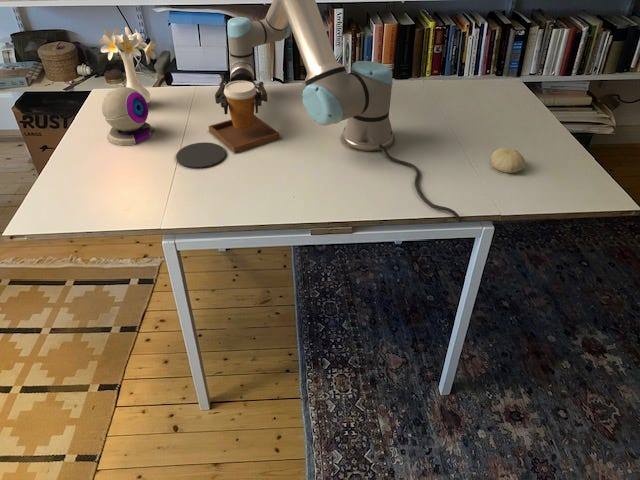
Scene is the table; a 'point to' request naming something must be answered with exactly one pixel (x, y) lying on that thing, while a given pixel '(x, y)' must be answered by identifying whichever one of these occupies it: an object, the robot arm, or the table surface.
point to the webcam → (126, 116)
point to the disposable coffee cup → (241, 103)
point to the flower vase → (128, 54)
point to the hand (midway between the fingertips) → (241, 109)
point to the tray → (244, 134)
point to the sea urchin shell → (507, 160)
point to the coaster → (200, 155)
